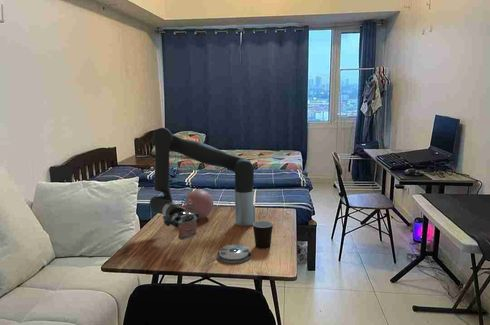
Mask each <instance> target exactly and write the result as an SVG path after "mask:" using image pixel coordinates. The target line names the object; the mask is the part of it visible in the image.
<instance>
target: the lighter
mask: <svg viewBox="0 0 490 325" xmlns="http://www.w3.org/2000/svg"><path fill="white" fill-rule="evenodd" d="M180 219H181V220H179V221H178V225H179V227H178V235H177V237H178V239H179V240H182V241H183V240H186V239H190V238H193V237H194V236H196V235H197V223H196V220H197V217H195V216H194V213H190V214H189V213H187V214H186V215H183V216H181V217H180Z"/></svg>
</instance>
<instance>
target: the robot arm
mask: <svg viewBox="0 0 490 325" xmlns="http://www.w3.org/2000/svg"><path fill="white" fill-rule="evenodd" d="M152 135H153V136H152V140H153V143H154V149H155V150H154V152H155V164H154V177H153V178H154V182H153V184H154V186H153V187H154V188H153V189H154V191H156V192H160V193H162V194H163V196H162V195H161V196H160V195H159V196H158V195H157V196H156V195H155V196H153V197H151V199H150V200H149V207H150V209H151V211H153V212H154V213H156V214H157V213H158V214H161V215H162V220H163V221H162V223H164V225H165V226H166V227H170V226H173V227H174V228H176V229H179V223H178V221H179V220H181V219H180V217H181V216H183V215H186V214H187V212H186V210H185V208H183V207H182V206H180V205H179V204H177V203H174V202H173V198H172V194H171V190H170V151H172V152H176V153H179V154H181V155H183V156H185V157H186V158H190V160H191V159H192V160H193V161H196V162H199V163H201V164H205V165H208V166H214V167H220V168H224V169H227V170H229V171H231V172H234V206H235V207H234V209H235V211H234V215H235V217H234V218H235V219H234V220H235V225H237V226H241V227H248V226H253V223H254V222H256V206H255V204H254V184H255V182H254V181H255V180H254V179H255V174H254V173H255V171H254V165H253V163H252V162H251V161H250V160H249V159H248V158H245V157H240V156H238V155H233V154H230V153H227V152H225V151H223V150H220V149H218V148H216V147H213V146H212V145H208V144H206V143H205V142H200V141H196V140H195V141H194V140H189V139H186V138H182V137H179V136H177V135H175V134H174V133H172V132H171V130H169V129H168V128H166V127H159V128H157V129H156V130H155V131H154V133H153V134H152ZM191 213H194V216H195V217H197V220H196V224H199V221H200V219H199V214H198V213H197V212H195V211H191ZM189 214H190V213H189Z"/></svg>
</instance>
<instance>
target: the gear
mask: <svg viewBox="0 0 490 325" xmlns="http://www.w3.org/2000/svg"><path fill="white" fill-rule="evenodd" d="M186 197H187V195H184V196H183V197H182V198H181V201H180V202H181V204H182V206H183V205H184V201H185V198H186Z"/></svg>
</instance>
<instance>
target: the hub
mask: <svg viewBox="0 0 490 325" xmlns="http://www.w3.org/2000/svg"><path fill="white" fill-rule="evenodd" d="M218 251H219V252H218V253H217V254H216V259H217V260H218V261H219V262H221V263H223V264H231V265H235V264H236V265H237V264H242V263H243V264H244V263H245V262H248V261H249V260H251V258H252V253H251V251H250V249H249V248H248V247H247V246H245V245H242V244H228V245H224V246H222V247H220V248H219V249H218Z"/></svg>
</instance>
